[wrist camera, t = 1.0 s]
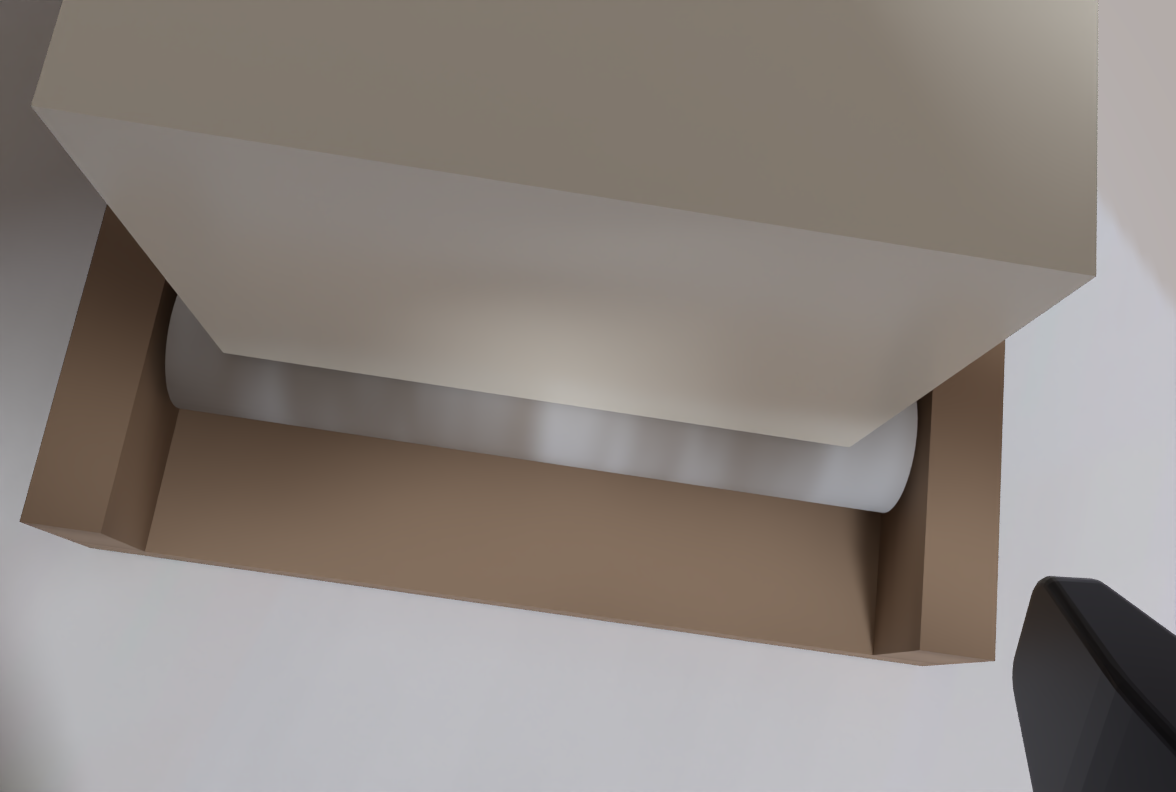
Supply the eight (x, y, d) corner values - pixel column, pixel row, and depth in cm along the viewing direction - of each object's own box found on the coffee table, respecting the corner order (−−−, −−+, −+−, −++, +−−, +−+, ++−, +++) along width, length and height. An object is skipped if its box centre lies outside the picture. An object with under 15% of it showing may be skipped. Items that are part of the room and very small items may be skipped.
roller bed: (922, 665, 20) (1076, 654, 15) (89, 547, 19) (-61, 491, 14) (967, -253, 26) (1090, -498, 20) (324, -370, 25) (280, -655, 20)
